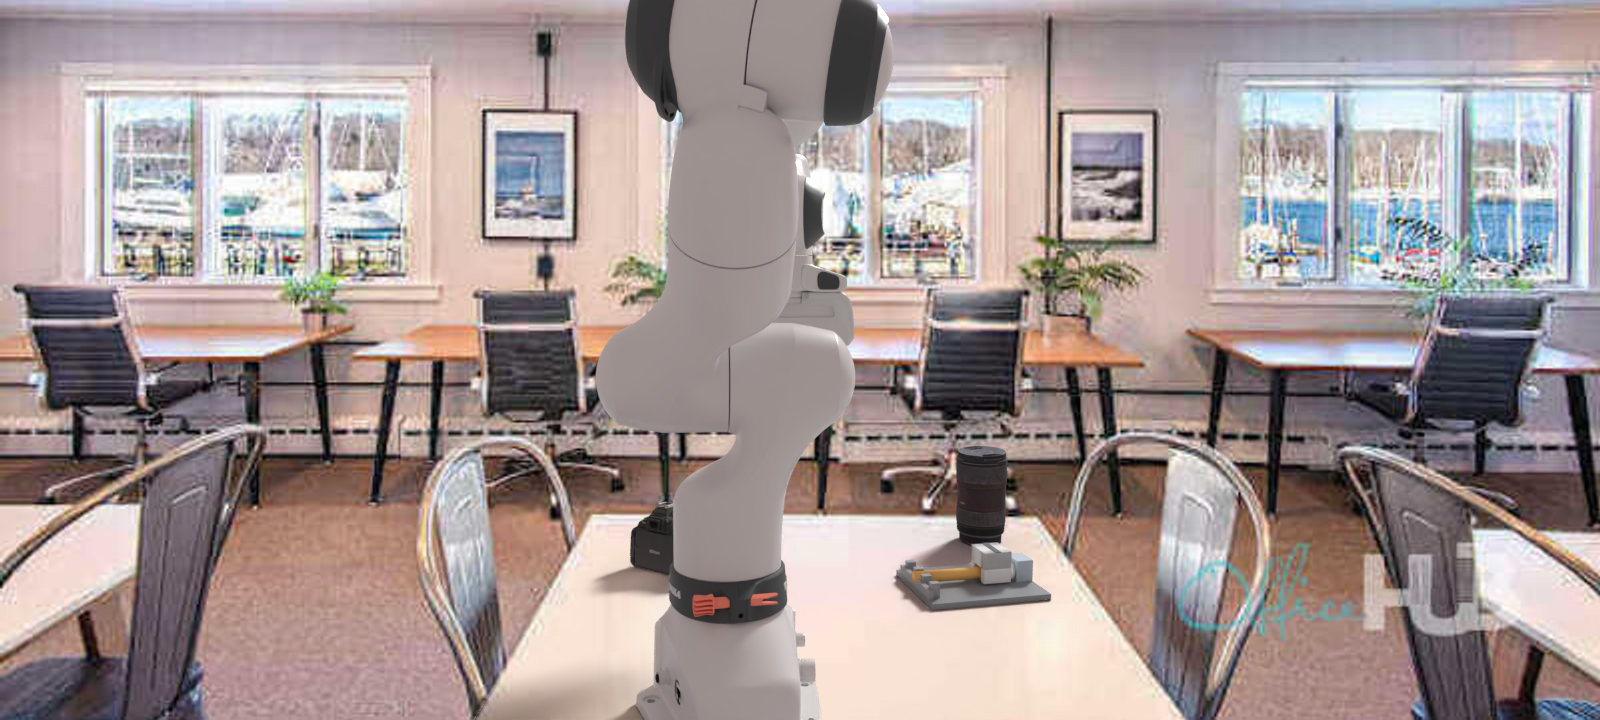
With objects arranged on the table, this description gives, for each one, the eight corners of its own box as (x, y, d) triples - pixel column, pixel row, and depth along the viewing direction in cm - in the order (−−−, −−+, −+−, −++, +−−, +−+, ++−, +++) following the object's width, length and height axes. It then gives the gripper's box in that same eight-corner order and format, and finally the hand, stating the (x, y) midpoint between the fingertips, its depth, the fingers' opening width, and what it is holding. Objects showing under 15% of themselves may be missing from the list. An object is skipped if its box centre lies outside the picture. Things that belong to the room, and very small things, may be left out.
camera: (727, 561, 142) (727, 496, 141) (711, 583, 132) (711, 514, 131) (642, 556, 144) (641, 492, 143) (620, 578, 134) (619, 509, 133)
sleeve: (1010, 581, 130) (1011, 551, 130) (984, 584, 129) (984, 553, 129) (996, 571, 134) (997, 541, 134) (970, 573, 133) (971, 543, 133)
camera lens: (944, 536, 155) (947, 447, 153) (985, 531, 158) (987, 443, 157) (973, 550, 148) (976, 457, 146) (1015, 544, 151) (1018, 452, 149)
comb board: (1050, 599, 126) (1052, 572, 126) (932, 610, 122) (933, 581, 122) (1004, 566, 140) (1005, 541, 140) (896, 575, 136) (896, 549, 136)
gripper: (705, 277, 120) (705, 385, 121) (858, 278, 124) (857, 381, 126) (698, 276, 126) (698, 379, 127) (845, 277, 131) (843, 375, 132)
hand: (779, 380), depth 127 cm, fingers closed
